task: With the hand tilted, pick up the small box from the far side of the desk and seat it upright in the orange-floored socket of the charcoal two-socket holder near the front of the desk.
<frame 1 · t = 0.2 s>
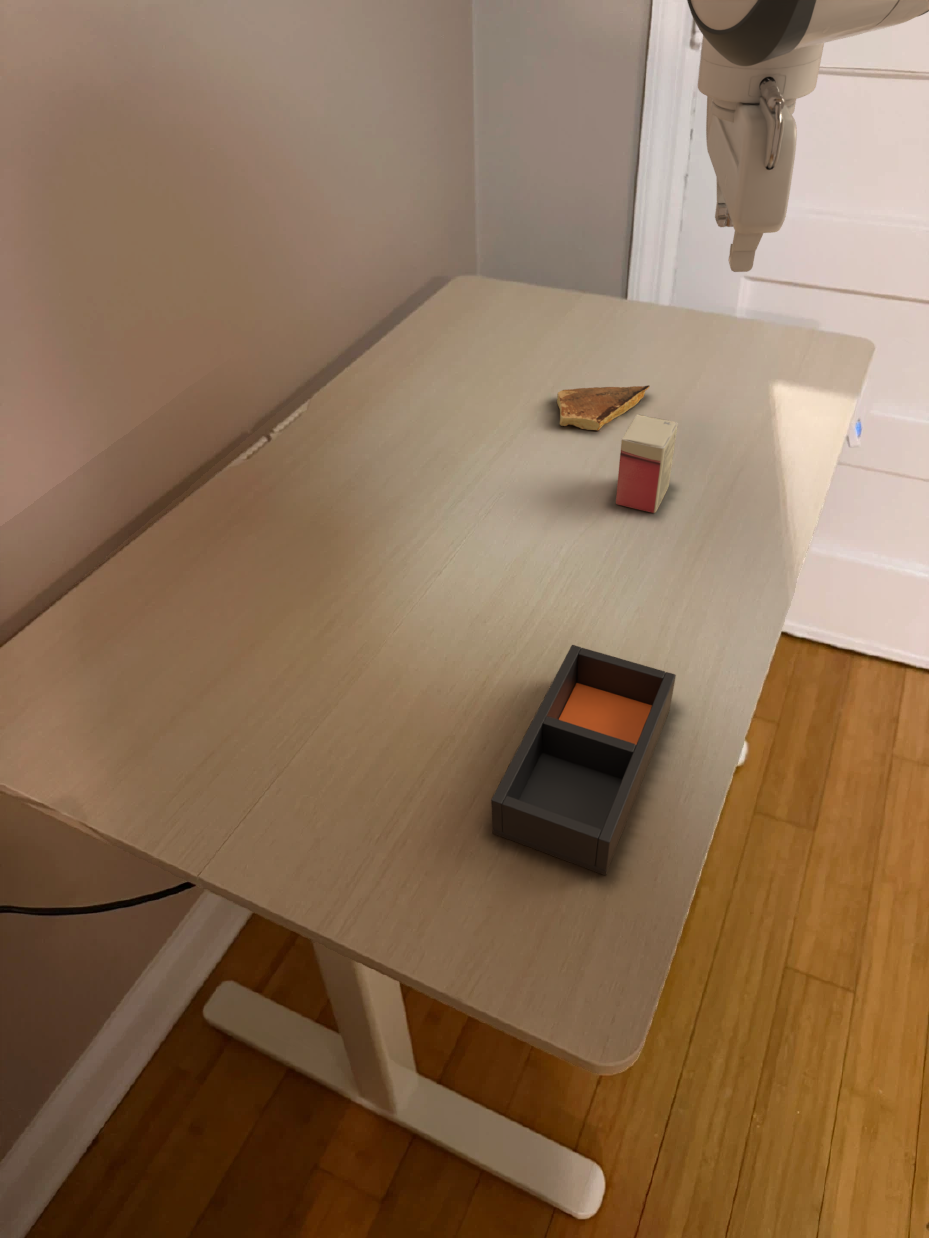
hand: (732, 245, 77), 24 cm above the table, tool pointing down, fingers open, 8 cm apart
small box: (641, 498, 91), on the table
shard: (592, 409, 104), on the table
holder: (586, 767, 67), on the table
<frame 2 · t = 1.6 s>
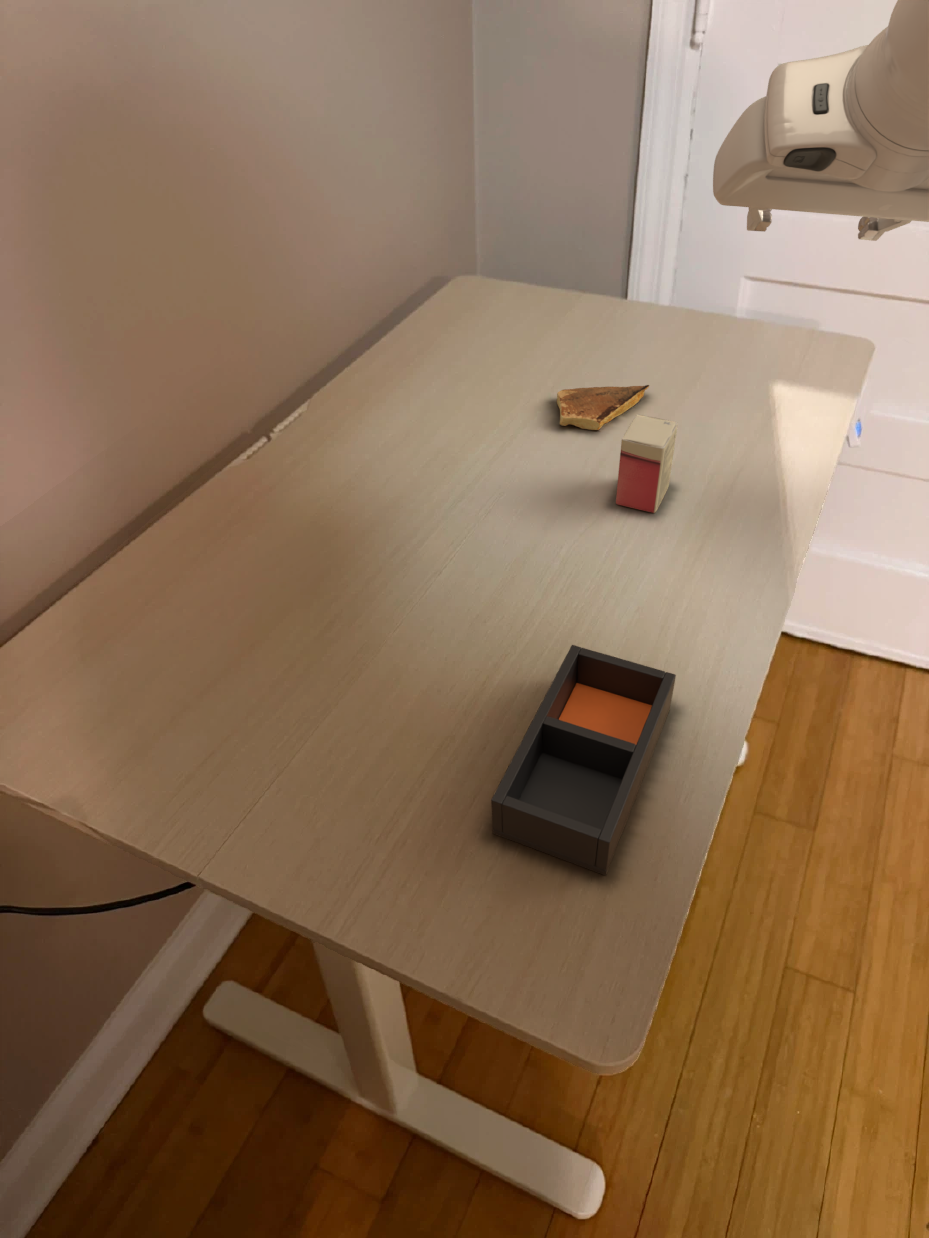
hand: (810, 228, 74), 25 cm above the table, tool tilted 40°, fingers open, 8 cm apart
nothing on the table moved.
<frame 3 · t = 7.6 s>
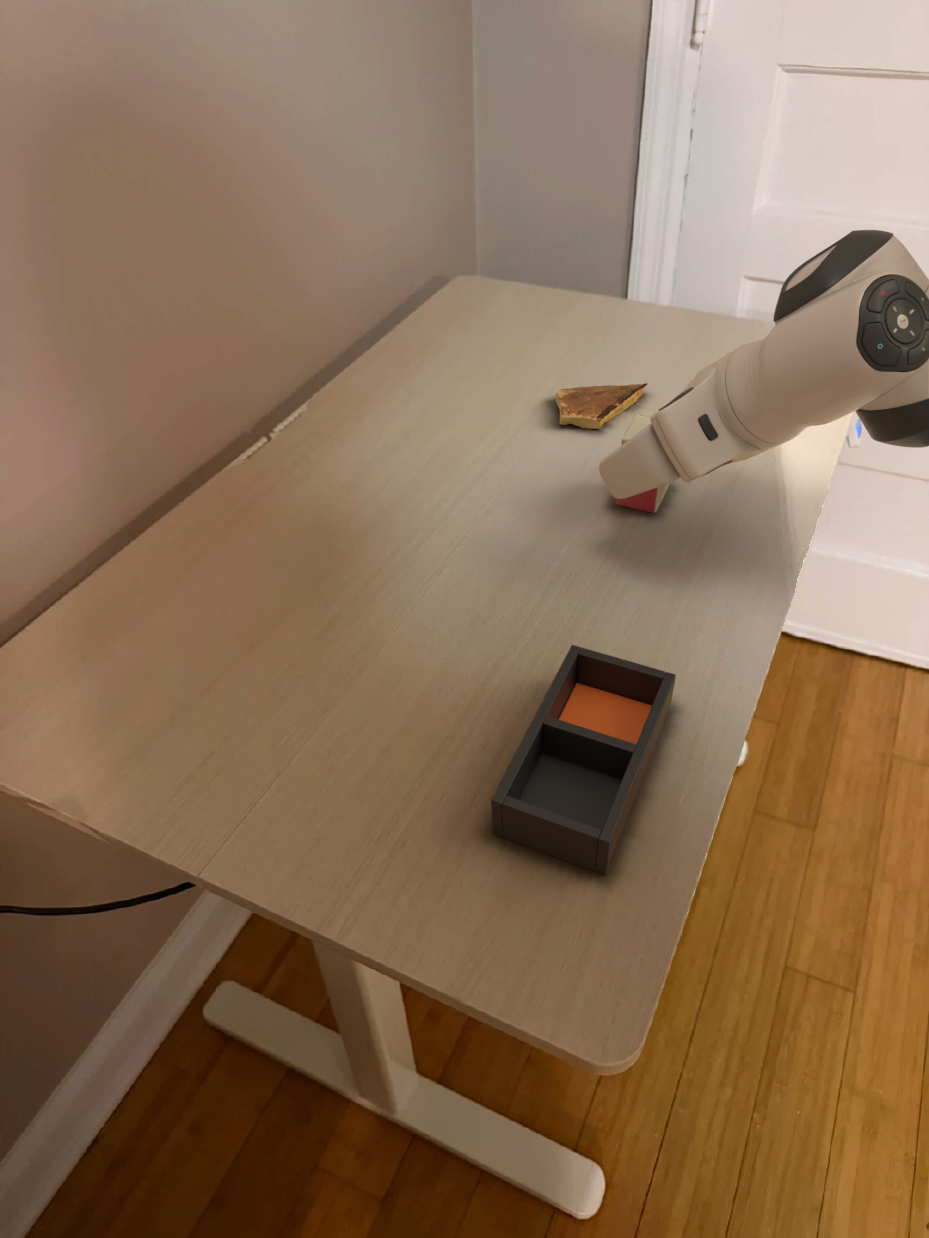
hand: (641, 457, 88), 4 cm above the table, tool tilted 45°, fingers closed on small box, 6 cm apart
small box: (641, 498, 91), on the table, touching gripper
everything else where it was.
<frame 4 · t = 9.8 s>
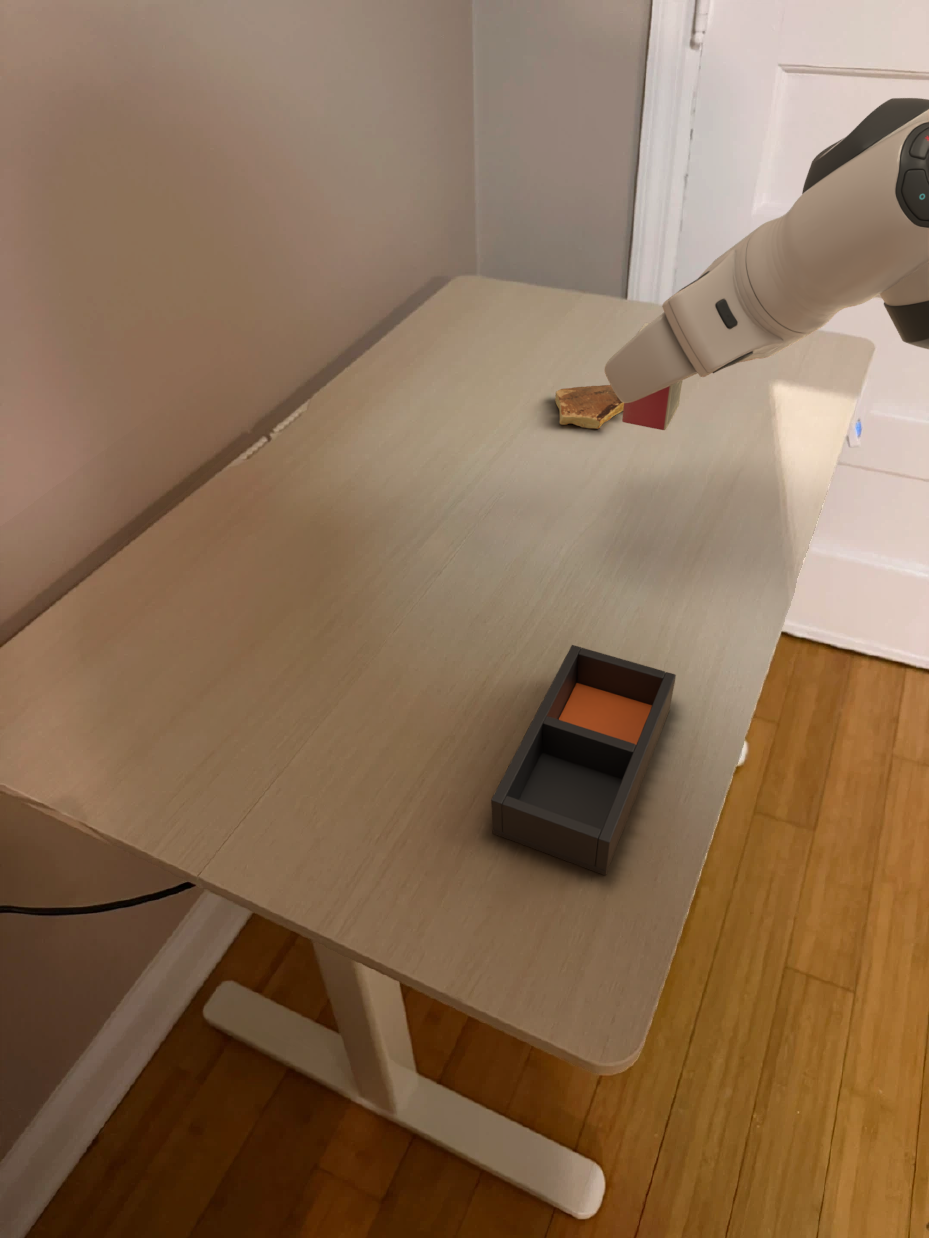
hand: (649, 370, 81), 14 cm above the table, tool tilted 45°, fingers closed on small box, 6 cm apart
small box: (650, 416, 84), point 9 cm above the table, touching gripper
everything else where it was.
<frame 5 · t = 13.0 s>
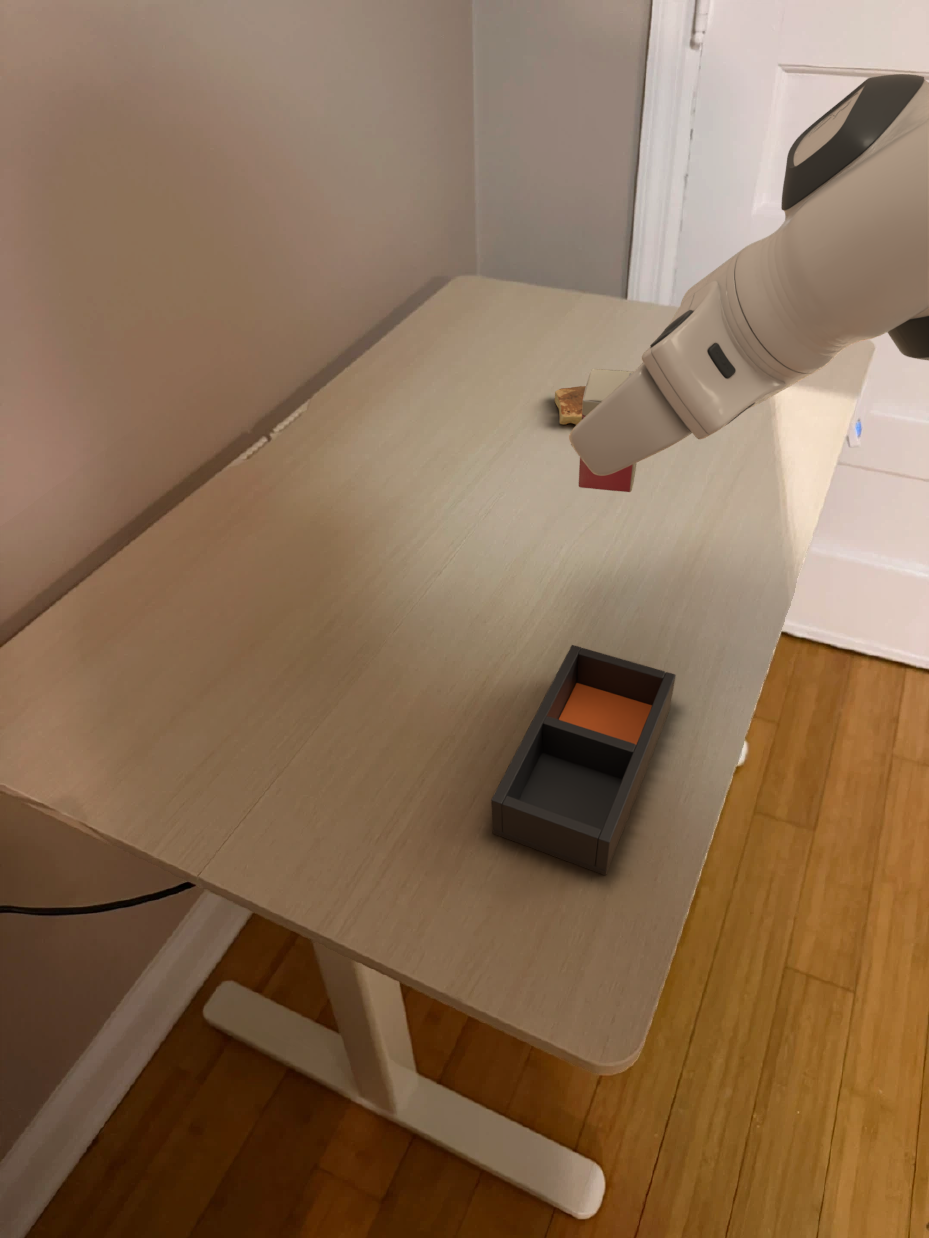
hand: (604, 424, 68), 18 cm above the table, tool tilted 45°, fingers closed on small box, 6 cm apart
small box: (608, 476, 71), point 13 cm above the table, touching gripper
everything else where it was.
when the fingers open (5 cm above the table, at t = 18.9 s): small box stays where it is, resting on holder.
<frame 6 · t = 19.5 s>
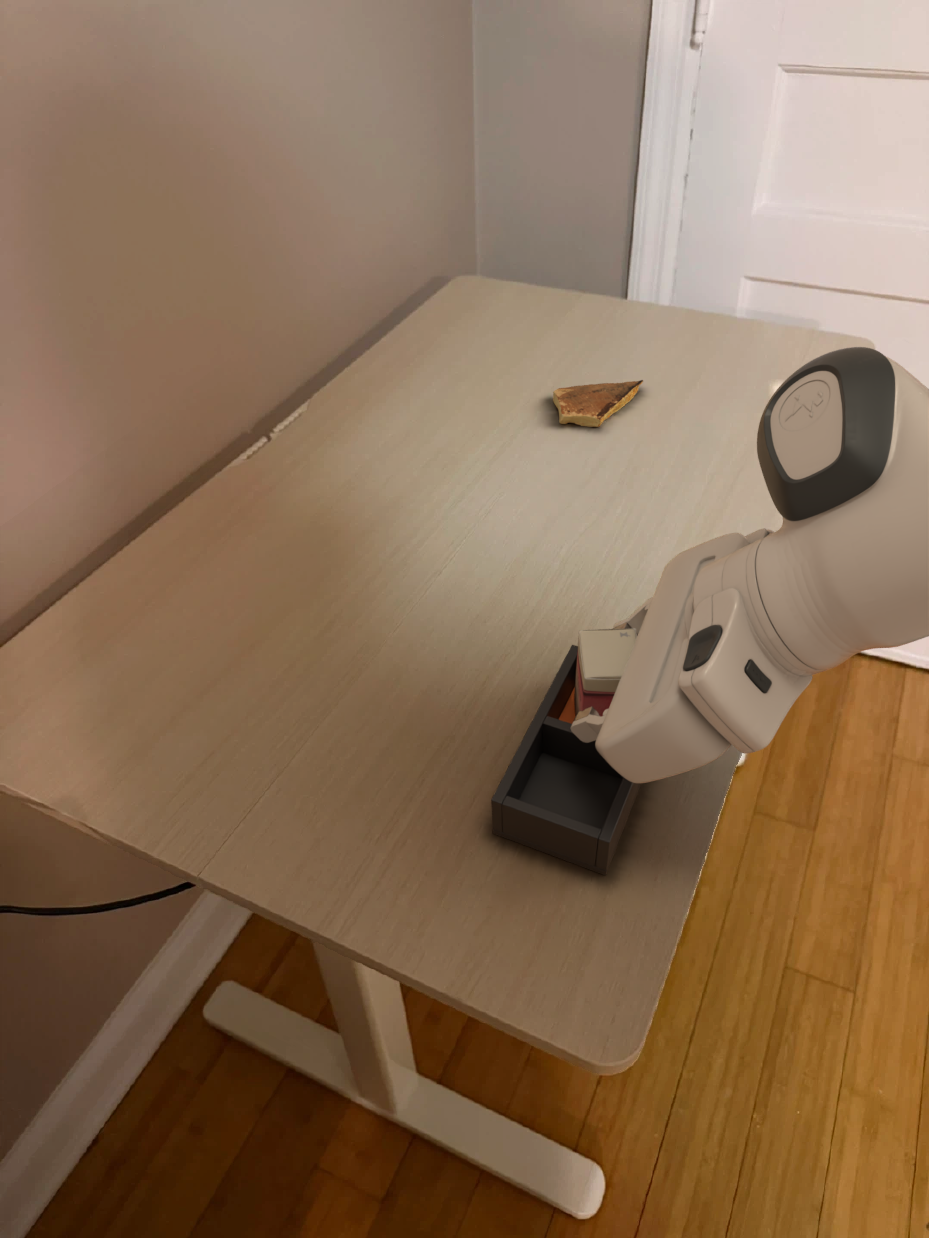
hand: (598, 681, 66), 6 cm above the table, tool tilted 45°, fingers open, 8 cm apart
small box: (603, 724, 69), point 1 cm above the table, touching holder
everything else where it was.
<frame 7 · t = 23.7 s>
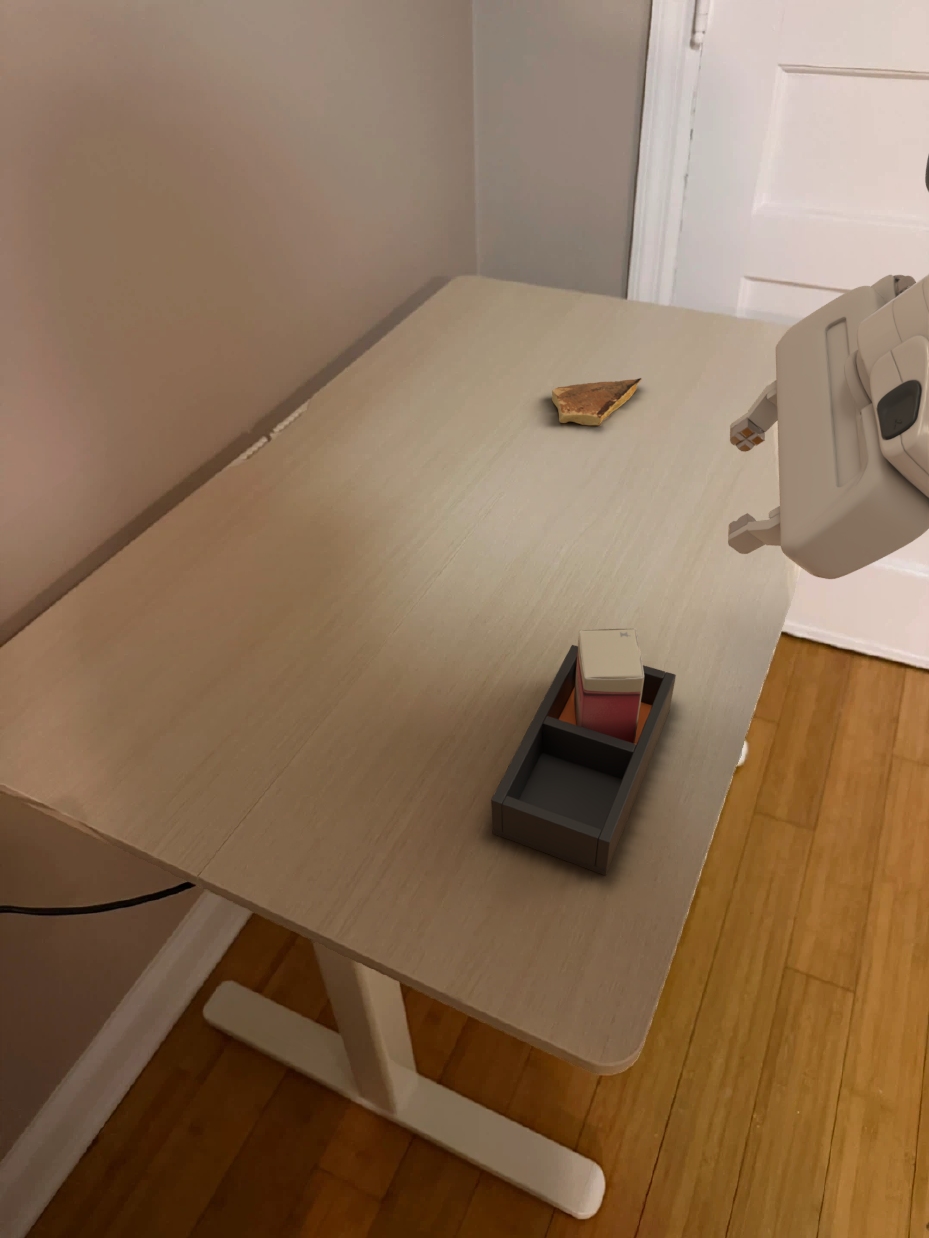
hand: (735, 488, 60), 19 cm above the table, tool tilted 40°, fingers open, 8 cm apart
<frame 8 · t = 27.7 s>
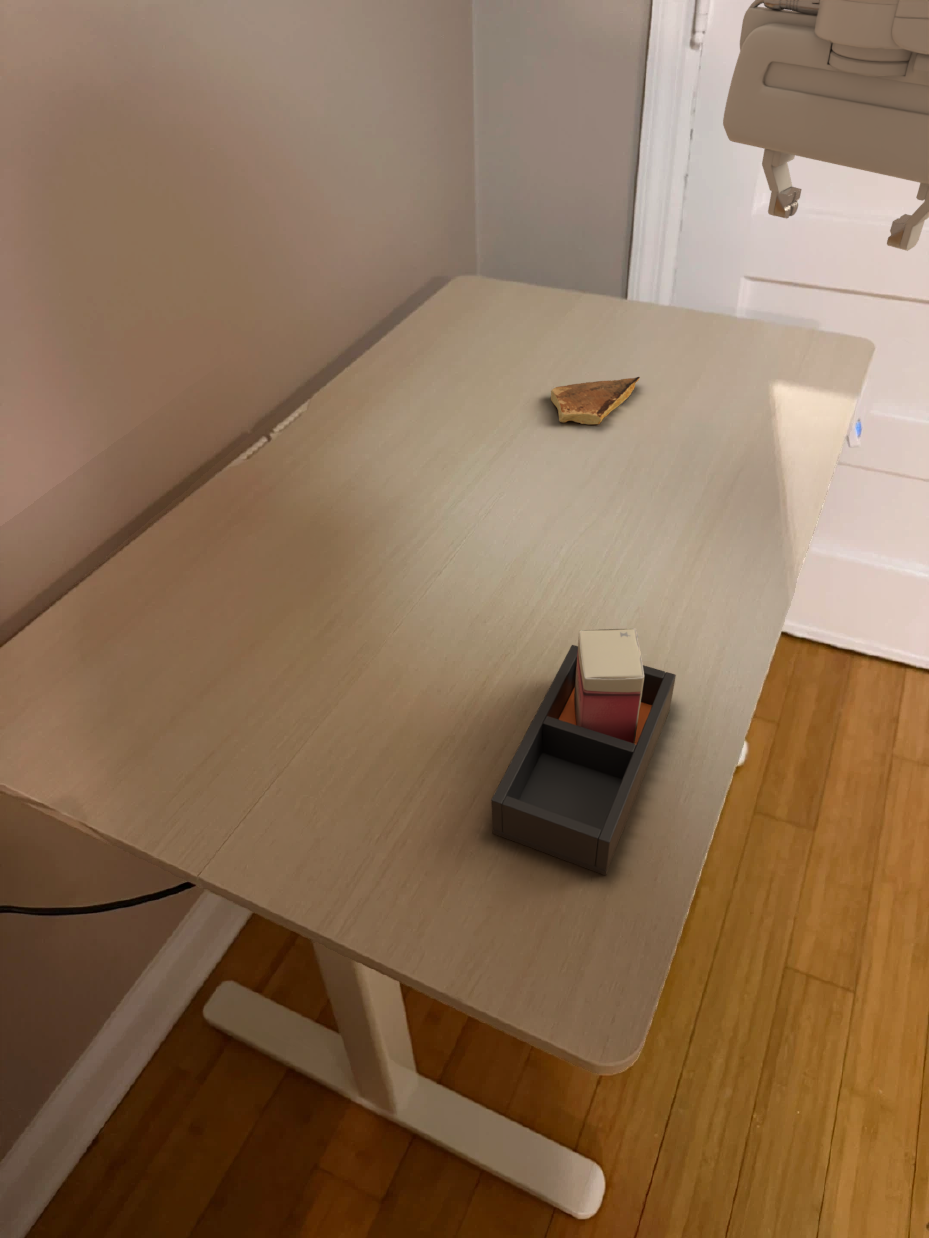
hand: (839, 230, 65), 29 cm above the table, tool pointing down, fingers open, 8 cm apart
at the end: small box 0.2 cm from the target spot in the holder, point 0.6 cm above the holder's base; small box tilted 0°; the gripper is holding nothing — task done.
